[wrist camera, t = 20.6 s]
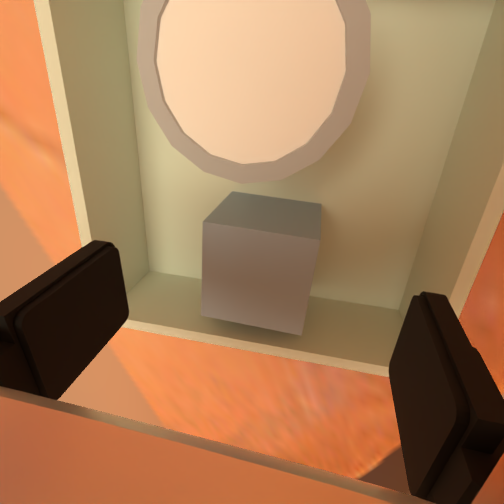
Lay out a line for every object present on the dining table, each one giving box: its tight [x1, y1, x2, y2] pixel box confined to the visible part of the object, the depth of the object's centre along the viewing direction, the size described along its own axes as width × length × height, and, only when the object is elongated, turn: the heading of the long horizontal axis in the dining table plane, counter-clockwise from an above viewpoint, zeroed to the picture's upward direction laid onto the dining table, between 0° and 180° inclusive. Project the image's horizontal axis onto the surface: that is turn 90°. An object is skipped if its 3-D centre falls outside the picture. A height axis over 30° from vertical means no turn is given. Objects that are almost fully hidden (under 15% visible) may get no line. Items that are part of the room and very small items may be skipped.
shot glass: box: [137, 0, 371, 184], centre depth 12 cm, size 7×7×7 cm
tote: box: [34, 0, 504, 377], centre depth 15 cm, size 17×17×6 cm
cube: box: [201, 191, 321, 336], centre depth 17 cm, size 5×5×5 cm
